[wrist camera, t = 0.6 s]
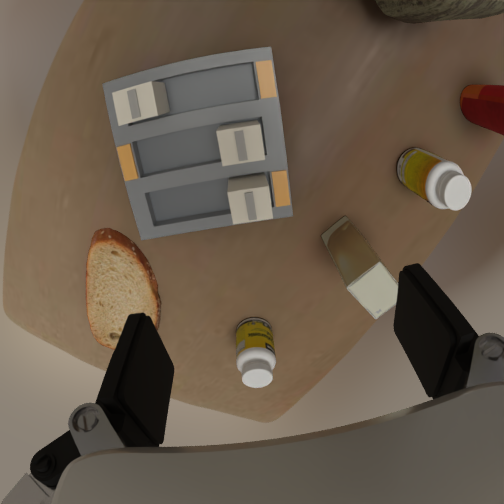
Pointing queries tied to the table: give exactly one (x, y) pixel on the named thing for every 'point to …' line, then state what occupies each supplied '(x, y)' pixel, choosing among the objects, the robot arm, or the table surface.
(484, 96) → the paper cup
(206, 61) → the switch bank
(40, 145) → the table surface
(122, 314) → the bread slice
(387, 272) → the skincare box
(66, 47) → the table surface
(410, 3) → the tabletop clock
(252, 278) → the table surface
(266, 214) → the tab
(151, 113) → the beige switch slider block
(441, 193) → the supplement bottle
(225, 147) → the tab
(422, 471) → the robot arm
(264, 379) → the supplement bottle
